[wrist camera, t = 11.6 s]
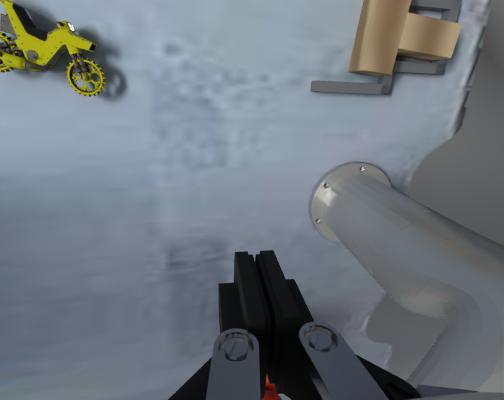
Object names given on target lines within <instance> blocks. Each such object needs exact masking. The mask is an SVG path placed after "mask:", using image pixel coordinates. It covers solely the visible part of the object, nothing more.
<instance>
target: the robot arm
mask: <svg viewBox="0 0 504 400" xmlns="http://www.w3.org/2000/svg"><path fill="white" fill-rule="evenodd" d="M360 167H361V168H360ZM325 183H326V184H325ZM324 184H325V185H324ZM310 217H311V221H312V223H313V225H314V227H315V228H316V229H317V231H318V232H319V233H320V234H321V235H322V236H323V237H325V238H326V239H328V240H330V241H333V242H337V243H343V244H344V245H345V247H346V248H347V249H348V250H349V251H350V252H351V253H352V254H353V256H354V257H355V258H356V259H357V260H358V261H359V262H360V263H361V264H362V266H363V267H364V268H365V269H366V270H367V271H368V272H369V273H370V275H371V276H372V277H373V278H374V279H375V280H376V281H377V282H378V283H379V285H380V286H381V287H382V288H383V289H384V290H385V291H386V292H387V293H388V294H389V295H390V297H391V298H392V299H393V300H395V301H396V302H397V303H398V304H399V305H401V306H402V307H404V308H406V309H408V310H409V311H412V312H414V313H417V314H420V315H425V316H429V317H435V318H444V319H448V322H447V324H446V326H445V328H444V329H443V331H442V332H441V334H440V335H439V336H438V338H437V340H436V342H435V343H434V345H433V346H432V347H431V349H430V350H429V351H428V353H427V354H426V355H425V357H424V358H423V359H422V360H421V362H420V363H419V364H418V366H417V367H416V368H415V370H414V371H413V372H412V374H411V375H410V377H409V378H408V379H407V380H406V381H404V380H403V379H401V378H399V377H397V376H395V375H393V374H392V373H390V372H388V371H386V370H384V369H382V368H380V367H378V366H376V365H375V364H373V363H371V362H369V361H367V360H365V359H363V358H361V357H360V356H358V355H356V354H355V353H354V352H353V351H352V349H351V348H350V347H349V345H348V344H347V343H346V341H345V340H344V339H343V337H342V336H341V335H340V333H339V332H338V331H337V330H336V329H335V328H333V327H332V326H330V325H328V324H326V323H323V322H317V321H316V322H314V320H313V318H312V316H311V314H310V311H309V309H308V307H307V305H306V303H305V301H304V299H303V297H302V295H301V292H300V290H299V288H298V286H297V284H296V282H295V280H294V279H285V277H284V274H283V272H282V270H281V267H280V265H279V263H278V260H277V258H276V256H275V253H274V251H273V250H270V251H260V254H256V257H255V261H254V258H253V255H248V252H235V259H234V283H222V284H219V324H220V335H219V336H218V337H217V338H216V340H215V343H214V347H213V353H212V357H211V358H210V359H209V360H208V361H207V362H206V363H205V364H204V365H203V366H202V367H201V368H200V369H199V370H198V371H197V372H196V373H195V374H194V375H193V376H192V377H191V378H190V379H189V380H188V381H187V382H186V383H185V384H184V385H183V386H182V387H181V388H180V389H179V390H178V391H177V392H176V393H174V394H173V395H172V396H171V397H170V398H169V399H168V400H262V399H263V397H264V396H265V385H266V376H268V380H269V383H270V384H275V388H276V393H277V394H281V393H283V394H285V395H286V396H287V397H289V398H290V399H291V400H504V246H503V245H500V244H498V243H496V242H494V241H492V240H490V239H488V238H486V237H484V236H482V235H479V234H478V233H475V232H473V231H471V230H469V229H468V228H466V227H464V226H462V225H460V224H458V223H456V222H454V221H452V220H450V219H448V218H447V217H445V216H443V215H441V214H439V213H437V212H435V211H433V210H431V209H429V208H428V207H426V206H424V205H422V204H420V203H418V202H416V201H414V200H413V199H411V198H409V197H407V196H405V195H403V194H401V193H399V192H397V191H396V190H394V189H392V187H391V184H390V181H389V180H388V178H387V176H386V175H385V174H384V173H383V172H382V171H381V170H379V169H378V168H377V167H374V166H372V165H370V164H366V163H363V162H352V163H346V164H344V165H341V166H338V167H336V168H335V169H333V170H331V171H330V172H329V173H327V174H326V175H325V176H324V177H323V178H322V179H321V180H320V181H319V183H318V184H317V186H316V187H315V189H314V191H313V194H312V196H311V200H310ZM316 219H317V220H316Z"/></svg>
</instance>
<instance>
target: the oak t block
mask: <svg viewBox="0 0 504 400" xmlns="http://www.w3.org/2000/svg"><path fill="white" fill-rule="evenodd" d="M410 4H411V0H364V2H363V6H362V11H361V15H360V20H359V24H358V29H357V33H356V38H355V42H354V47H353V51H352V56H351V60H350V64H349V69H348V72H351V73H358V74H364V75H370V76H379V75H391V74H392V70H393V66H394V63H395V59H396V56H401V57H407V58H412V59H418V60H423V61H432V60H440V59H448V58H451V57H452V54H453V51H454V48H455V45H456V42H457V39H458V36H459V33H460V30H461V27H462V24H459V23H455V22H450V21H445V20H441V19H436V18H431V17H427V16H422V15H417V14H413V13H408V11H409V7H410Z"/></svg>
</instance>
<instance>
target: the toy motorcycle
mask: <svg viewBox="0 0 504 400" xmlns="http://www.w3.org/2000/svg"><path fill="white" fill-rule="evenodd" d="M0 3H2V4H3V5H4V7H5V9H6V11H7V14H6V15H4V14H1V22H0V30H1V31H4V32H7V33H10V34H13V35H16V36H17V38H18V39H17V40H15V41H11V40H10V39H11V37H8V36H6V34H5V33H1V32H0V39H1V40H2V43H0V72H10V71H9V70H14V69H13V68H17V69H28V70H32V71H41V70H42V71H46V70H47V67H52V66H53V65H54V64H55V63H56V62H57V61H58V59H59V58H60V57H61V56H62V55H63V53H64V52H65V51H66V50H67V49H68V51H69V53H70V55H71V57H72V58H73V63H69V64H70V66H69V67H68V66H67V68H68V71H66V73H67V75H68V76H66V77H67V78H68V80H69V81H67V82H68V83H70V84H71V86H70V87H73V88H74V91H78V94H81V93H82V94H83V96H86V94H87V95H88V96H91V95H92V96H96V95H95V94H97V95H99V92H103V91H102V89H103V88H105V87H104V84H106V82H105V79H106V78H104V74H105V73H103V72H102V70H103V69H102V68H99V67H98V66H99V64H94V63H95V61H91V62H90V59H87V60H85V58H84V56H83V52H82V50H81V49H83V50H87V51H91V52H94V50H95V48H96V46H97V45H96V44H94V43H92V42H90V41H89V40H87V39H85V38H83V37H81V36H79V35H77V34H75V33H74V30H75V28H74V26H73V25H71V23H69V22H67V21H62V22H57V21H55V22H56V23H57V25H58V28H57V29H54V30H52V31H50V32H46V31H43V30H39V29H37V28H36V27H35V25H34V24H33V22H32V20H31V19H30V17H29V16H28V14H27V12H26V11H25V9H24V8H23V7H21V6H20V5H18V4H16V3H14V2H12V1H10V0H0ZM20 52H23V53H24V55H25V57H23V56H19V54H18V53H20ZM78 57H79V58H78ZM75 58H76V59H77V60H75ZM81 58H82V60H81ZM3 63H4V64H3ZM1 64H3V65H6V66H3V65H1ZM88 65H90V66H91V67H92V71H91V72H90V69H89V66H88ZM75 68H76V69H77V70H76V71H77V73H79V74H80V77H77V76H76V75H75V74H74V72H73V71H74V69H75ZM87 72H88V73H87ZM81 73H82V74H81ZM93 73H97V74H98V75H99V77H100V80H99V81H98V82H94V81H93V80H92V76H91V75H92V74H93ZM77 79H82V80H83V81H84V84H85V85H84V87H82V88H80V87H78V86H77V85H76V80H77ZM88 82H92V83H94V84H95V89H94V90H93V91H91V90H89V89H88V88H87V83H88Z"/></svg>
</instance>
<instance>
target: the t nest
mask: <svg viewBox="0 0 504 400" xmlns="http://www.w3.org/2000/svg"><path fill="white" fill-rule="evenodd" d="M461 2H462V0H411V4H410V7H409V8H411V9H422V10H432V11H442V12H443V13H442V18H441V20H445V21H450V22H455V23H456V21H457V17H458V13H459V9H460V6H461ZM446 61H447V59H440V60H432V61H431V63H423V62H408V61H395V63H394V66H393V70H392V74H391V75H379V77H378V83H377V84H369V83H349V82H329V81H312V83H311V91H316V92H339V93H361V94H383V95H389V93H390V88H391V83H392V78H393V72H399V73H416V74H433V75H439V74H443V72H444V69H445V65H446Z"/></svg>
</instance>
